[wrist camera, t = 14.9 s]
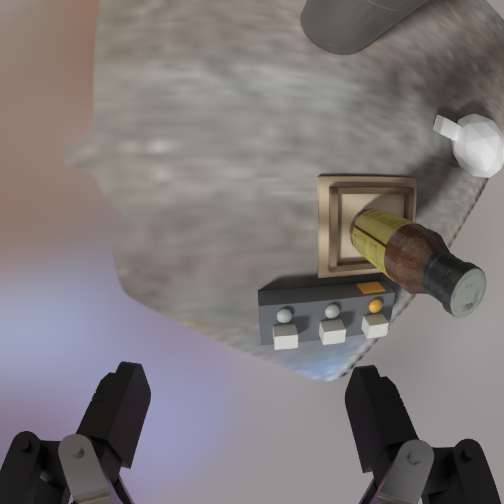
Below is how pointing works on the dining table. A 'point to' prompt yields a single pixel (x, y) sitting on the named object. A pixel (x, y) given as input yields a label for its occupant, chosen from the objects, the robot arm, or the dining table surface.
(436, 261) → the sauce bottle
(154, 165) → the dining table surface
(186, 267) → the dining table surface
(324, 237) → the square beige tray
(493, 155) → the faceted ball with stub
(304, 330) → the breaker bank
